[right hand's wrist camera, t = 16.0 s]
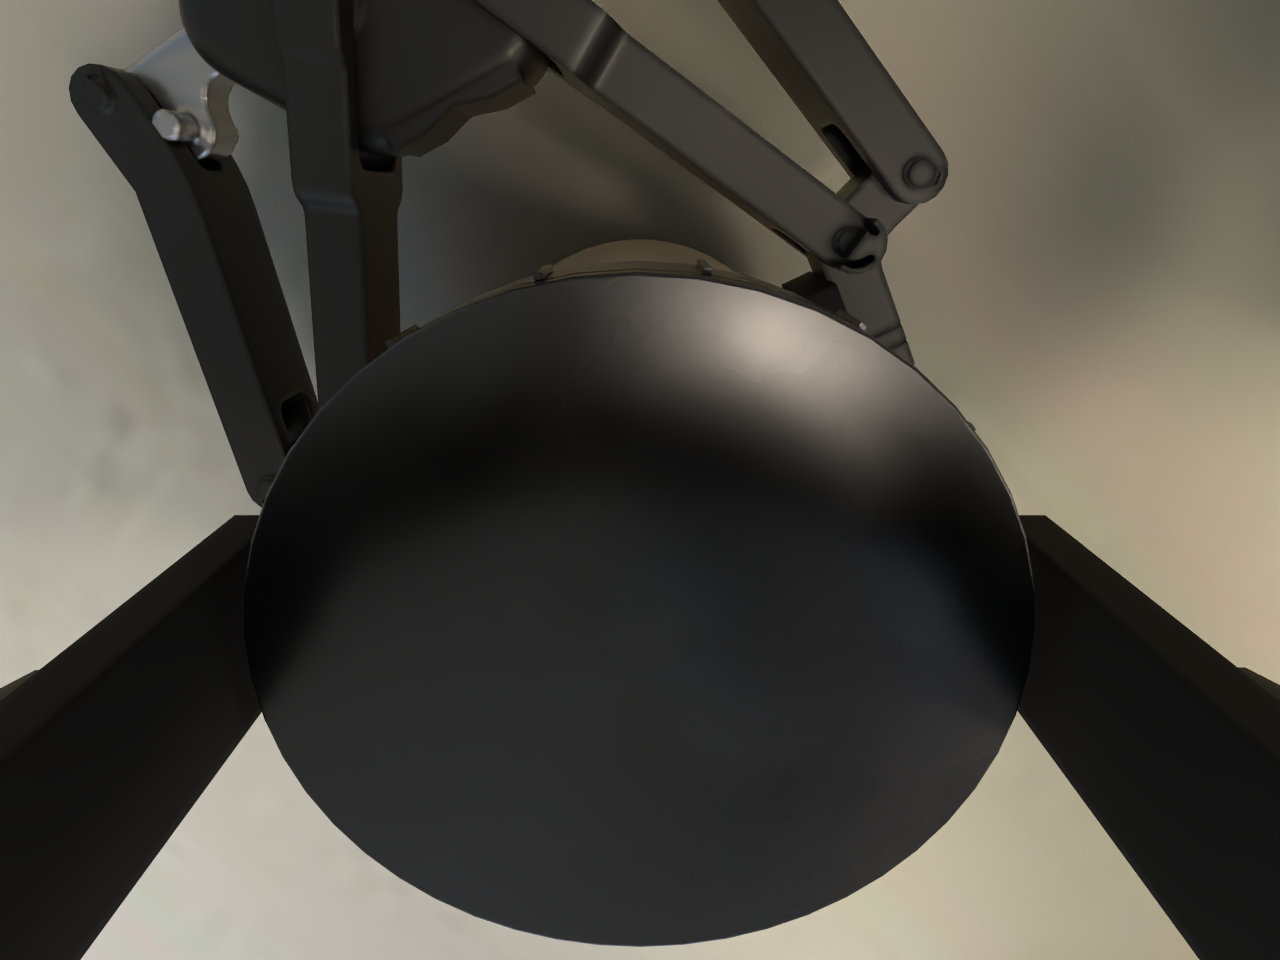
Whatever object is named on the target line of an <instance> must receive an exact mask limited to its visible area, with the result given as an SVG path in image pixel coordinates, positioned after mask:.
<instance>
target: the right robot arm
mask: <svg viewBox="0 0 1280 960" xmlns="http://www.w3.org/2000/svg"><path fill="white" fill-rule="evenodd" d="M259 516H260V515H235V516H233V517H232V518H231V519H230V520H228V521H227V522H226V523H225V524H223V525H222V526H221V527H219V528H218V529H217V530H216V531H214V532H213V533H212V534H211V535H209V536H208V537H207V538H206V539H204V540H203V541H202V542H201V543H199V544H198V545H197V546H195V547H194V548H193V549H192V550H190V551H189V552H188V553H187V554H185V555H184V556H183V557H182V558H180V559H179V560H178V561H177V562H175V563H174V564H173V565H171V566H170V567H169V568H168V569H166V570H165V571H164V572H163V573H161V574H160V575H159V576H158V577H156V578H155V579H154V580H153V581H151V582H150V583H149V584H147V585H146V586H145V587H144V588H142V589H141V590H140V591H139V592H137V593H136V594H135V595H134V596H132V597H131V598H130V599H129V600H127V601H126V602H125V603H123V604H122V605H121V606H120V607H118V608H117V609H116V610H115V611H113V612H112V613H111V614H110V615H108V616H107V617H106V618H105V619H103V620H102V621H101V622H99V623H98V624H97V625H96V626H94V627H93V628H92V629H91V630H89V631H88V632H87V633H86V634H84V635H83V636H82V637H81V638H79V639H78V640H77V641H75V642H74V643H73V644H72V645H70V646H69V647H68V648H67V649H65V650H64V651H63V652H62V653H60V654H59V655H58V656H57V657H55V658H54V659H53V660H51V661H50V662H49V663H48V664H46V665H45V666H44V667H43V668H41V669H40V670H35V671H33V672H31V673H29V674H27V675H25V676H23V677H21V678H19V679H18V680H16V681H14V682H12V683H10V684H8V685H6V686H4V687H2V688H0V960H80V959H81V958H82V957H83V955H84V954H85V953H86V951H87V950H88V949H89V947H90V946H91V944H92V943H93V942H94V940H95V939H96V938H97V936H98V935H99V933H100V932H101V931H102V929H103V928H104V927H105V925H106V924H107V923H108V921H109V920H110V918H111V917H112V916H113V914H114V913H115V912H116V910H117V909H118V908H119V906H120V905H121V903H122V902H123V901H124V899H125V898H126V897H127V895H128V894H129V892H130V891H131V890H132V888H133V887H134V886H135V884H136V883H137V882H138V880H139V879H140V877H141V876H142V875H143V873H144V872H145V871H146V869H147V868H148V866H149V865H150V864H151V862H152V861H153V860H154V858H155V857H156V856H157V854H158V853H159V851H160V850H161V849H162V847H163V846H164V845H165V843H166V842H167V841H168V839H169V838H170V836H171V835H172V834H173V832H174V831H175V830H176V828H177V827H178V825H179V824H180V823H181V821H182V820H183V819H184V817H185V816H186V815H187V813H188V812H189V810H190V809H191V808H192V806H193V805H194V804H195V802H196V801H197V799H198V798H199V797H200V795H201V794H202V793H203V791H204V790H205V789H206V787H207V786H208V784H209V783H210V782H211V780H212V779H213V778H214V776H215V775H216V774H217V772H218V771H219V769H220V768H221V767H222V765H223V764H224V763H225V761H226V760H227V758H228V757H229V756H230V754H231V753H232V752H233V750H234V749H235V748H236V746H237V745H238V743H239V742H240V741H241V739H242V738H243V737H244V735H245V734H246V733H247V731H248V730H249V728H250V727H251V726H252V724H253V723H254V722H255V720H256V719H257V717H258V716H259V715H260V713H261V712H262V710H261V707H260V703H259V700H258V697H257V694H256V691H255V688H254V685H253V681H252V678H251V673H250V667H249V661H248V655H247V648H246V642H245V636H244V585H245V578H246V572H247V565H248V559H249V552H250V546H251V541H252V538H253V535H254V531H255V528H256V525H257V522H258V519H259ZM1019 518H1020V521H1021V523H1022V526H1023V529H1024V532H1025V535H1026V539H1027V545H1028V550H1029V556H1030V562H1031V568H1032V574H1033V580H1034V608H1035V631H1034V638H1033V645H1032V652H1031V659H1030V665H1029V672H1028V676H1027V679H1026V683H1025V686H1024V689H1023V693H1022V696H1021V699H1020V702H1019V706H1018V709H1017V711H1018V712H1019V713H1020V715H1021V716H1022V717H1023V719H1024V720H1025V722H1026V723H1027V724H1028V726H1029V727H1030V728H1031V730H1032V731H1033V733H1034V734H1035V735H1036V737H1037V738H1038V739H1039V741H1040V742H1041V743H1042V745H1043V746H1044V748H1045V749H1046V750H1047V752H1048V753H1049V754H1050V756H1051V757H1052V758H1053V760H1054V761H1055V763H1056V764H1057V765H1058V767H1059V768H1060V769H1061V771H1062V772H1063V774H1064V775H1065V776H1066V778H1067V779H1068V780H1069V782H1070V783H1071V784H1072V786H1073V787H1074V789H1075V790H1076V791H1077V793H1078V794H1079V795H1080V797H1081V798H1082V800H1083V801H1084V802H1085V804H1086V805H1087V806H1088V808H1089V809H1090V810H1091V812H1092V813H1093V815H1094V816H1095V817H1096V819H1097V820H1098V821H1099V823H1100V824H1101V825H1102V827H1103V828H1104V830H1105V831H1106V832H1107V834H1108V835H1109V836H1110V838H1111V839H1112V841H1113V842H1114V843H1115V845H1116V846H1117V847H1118V849H1119V850H1120V851H1121V853H1122V854H1123V856H1124V857H1125V858H1126V860H1127V861H1128V862H1129V864H1130V865H1131V866H1132V868H1133V869H1134V871H1135V872H1136V873H1137V875H1138V876H1139V877H1140V879H1141V880H1142V882H1143V883H1144V884H1145V886H1146V887H1147V888H1148V890H1149V891H1150V892H1151V894H1152V895H1153V897H1154V898H1155V899H1156V901H1157V902H1158V903H1159V905H1160V906H1161V908H1162V909H1163V910H1164V912H1165V913H1166V914H1167V916H1168V917H1169V918H1170V920H1171V921H1172V923H1173V924H1174V925H1175V927H1176V928H1177V929H1178V931H1179V932H1180V933H1181V935H1182V936H1183V938H1184V939H1185V940H1186V942H1187V943H1188V944H1189V946H1190V947H1191V949H1192V950H1193V951H1194V953H1195V954H1196V955H1197V957H1198V958H1199V959H1200V960H1280V685H1278V684H1276V683H1274V682H1272V681H1271V680H1269V679H1267V678H1265V677H1263V676H1261V675H1259V674H1257V673H1255V672H1253V671H1251V670H1249V669H1247V668H1237V667H1236V666H1235V665H1234V664H1232V663H1231V662H1230V661H1229V660H1227V659H1226V658H1225V657H1223V656H1222V655H1221V654H1220V653H1218V652H1217V651H1216V650H1215V649H1213V648H1212V647H1211V646H1210V645H1208V644H1207V643H1206V642H1205V641H1203V640H1202V639H1201V638H1199V637H1198V636H1197V635H1196V634H1194V633H1193V632H1192V631H1191V630H1189V629H1188V628H1187V627H1186V626H1184V625H1183V624H1182V623H1181V622H1179V621H1178V620H1177V619H1175V618H1174V617H1173V616H1172V615H1170V614H1169V613H1168V612H1167V611H1165V610H1164V609H1163V608H1162V607H1160V606H1159V605H1158V604H1157V603H1155V602H1154V601H1153V600H1151V599H1150V598H1149V597H1148V596H1146V595H1145V594H1144V593H1143V592H1141V591H1140V590H1139V589H1138V588H1136V587H1135V586H1134V585H1133V584H1131V583H1130V582H1129V581H1127V580H1126V579H1125V578H1124V577H1122V576H1121V575H1120V574H1119V573H1117V572H1116V571H1115V570H1114V569H1112V568H1111V567H1110V566H1109V565H1107V564H1106V563H1105V562H1103V561H1102V560H1101V559H1100V558H1098V557H1097V556H1096V555H1095V554H1093V553H1092V552H1091V551H1090V550H1088V549H1087V548H1086V547H1085V546H1083V545H1082V544H1081V543H1079V542H1078V541H1077V540H1076V539H1074V538H1073V537H1072V536H1071V535H1069V534H1068V533H1067V532H1066V531H1064V530H1063V529H1062V528H1061V527H1059V526H1058V525H1057V524H1055V523H1054V522H1053V521H1052V520H1050V519H1049V518H1048V517H1047V516H1045V515H1019Z"/></svg>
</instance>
